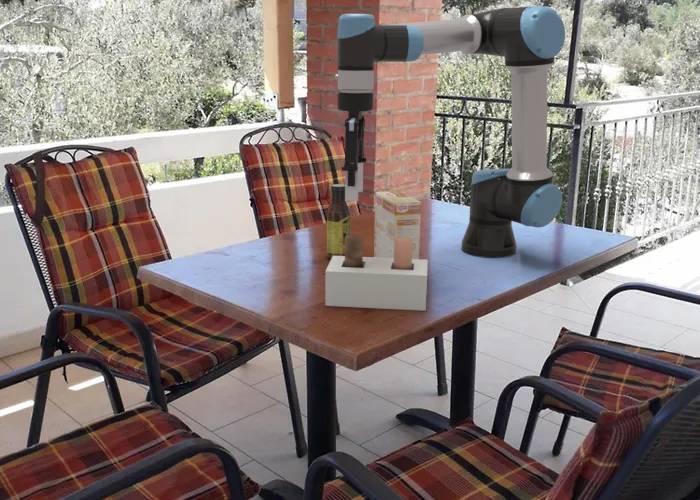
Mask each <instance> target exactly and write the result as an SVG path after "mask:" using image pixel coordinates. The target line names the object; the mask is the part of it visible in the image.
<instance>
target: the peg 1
mask: <svg viewBox="0 0 700 500" xmlns="http://www.w3.org/2000/svg"><path fill="white" fill-rule="evenodd" d="M363 248H364V237H363V236H361V235H355V234H352V235H351V234H350V236H346V237H345V267H351V268H362V266H363V257H364V255H363V252H364V249H363Z"/></svg>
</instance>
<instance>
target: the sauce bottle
mask: <svg viewBox="0 0 700 500" xmlns="http://www.w3.org/2000/svg"><path fill="white" fill-rule="evenodd" d="M330 190H331V202H330V204H329V206H328V208H327V211H326V215H327V216H326V218H327V219H326V254H327V255H326V257H327V258H328V259H329V260H331V259H332V257H333V256H345V237H346V236H350V235H351V213H350V209H349V207H348V204H347V201H345V183H344V184H343V183H339V184H338V183H336V184H335V183H334V184H331V186H330Z"/></svg>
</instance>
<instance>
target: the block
mask: <svg viewBox="0 0 700 500" xmlns="http://www.w3.org/2000/svg"><path fill="white" fill-rule="evenodd" d="M428 261H429V259H425V258H424V259H420V258H419V259H412V270H397V269H394V258H377V257H374V256H372V257H371V256H363V266H362V268H351V267H345V256H333V257H332V259H330V261H329V263H328V265H327V267H326V270H325V276H324V277H325V283H324V284H325V290H324V291H325V298H324V299H325V300H324V301H325V302H324V303H325V306H326V307H342V308H343V307H344V308H360V309H361V308H363V309H366V308H367V309H383V310H384V309H385V310H402V311H403V310H404V311H405V310H406V311H424V312H425V311H427V288H428V287H427V284H428Z"/></svg>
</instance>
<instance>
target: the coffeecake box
mask: <svg viewBox="0 0 700 500" xmlns="http://www.w3.org/2000/svg"><path fill="white" fill-rule="evenodd" d="M374 195H375V197H374V198H375V203H374V204H375V205H374V206H375V207H374V242H373V243H374V247H373V251H374V252H373V254H374V255H373V257H377V258H394V239H395V238H398V237H407V238H411V239H412V240H413V242H412V259H420V243H421V242H420V241H421V221H422V220H421V219H422V218H421V217H422V216H421V215H422V213H421V212H422V202H421V201H419V200H418V199H415V198H414V197H411V196H410V195H408V194H406V193H405V192H403V191H401V190H390V191H389V190H388V191H375V194H374Z"/></svg>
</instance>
